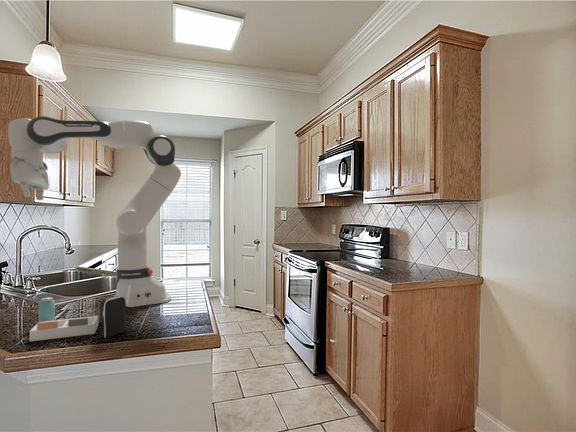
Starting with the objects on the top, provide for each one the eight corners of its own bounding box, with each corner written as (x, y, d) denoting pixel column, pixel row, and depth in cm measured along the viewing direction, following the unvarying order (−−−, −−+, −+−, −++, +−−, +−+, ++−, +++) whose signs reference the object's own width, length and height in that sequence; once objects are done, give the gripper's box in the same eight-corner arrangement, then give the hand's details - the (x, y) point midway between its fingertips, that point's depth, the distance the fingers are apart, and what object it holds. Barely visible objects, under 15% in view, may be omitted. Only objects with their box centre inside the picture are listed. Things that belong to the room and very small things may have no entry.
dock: (98, 324, 113) (98, 309, 113) (94, 333, 104) (94, 317, 104) (38, 331, 106) (38, 315, 106) (29, 341, 98) (29, 324, 98)
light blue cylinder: (56, 322, 115) (56, 296, 115) (53, 326, 111) (52, 299, 111) (41, 324, 113) (40, 297, 113) (37, 328, 109) (36, 300, 109)
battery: (118, 330, 108) (118, 294, 108) (126, 331, 106) (126, 295, 106) (97, 337, 101) (97, 299, 101) (106, 339, 100) (106, 300, 100)
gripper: (22, 153, 117) (29, 192, 116) (49, 167, 137) (55, 200, 136) (1, 155, 115) (8, 195, 115) (31, 169, 135) (37, 203, 135)
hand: (34, 198), depth 126 cm, fingers open, 8 cm apart
